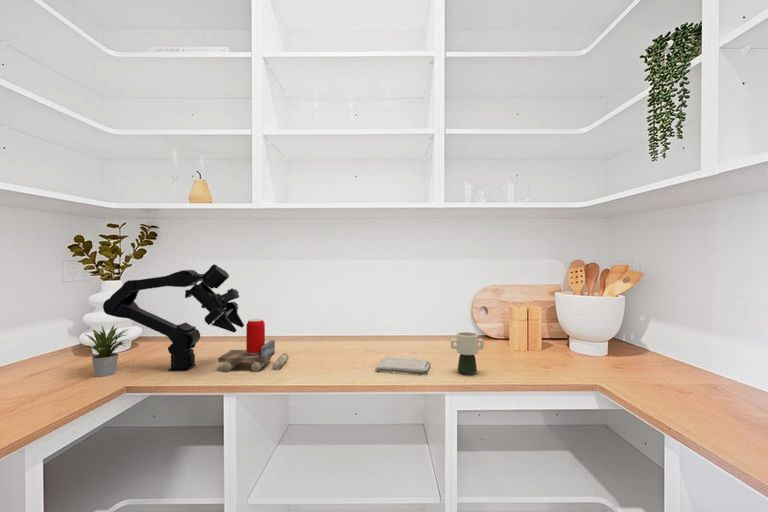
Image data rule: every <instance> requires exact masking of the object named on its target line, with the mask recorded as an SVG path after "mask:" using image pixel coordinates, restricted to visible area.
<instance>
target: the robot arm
mask: <svg viewBox="0 0 768 512" xmlns="http://www.w3.org/2000/svg"><path fill="white" fill-rule="evenodd" d="M229 278H230V275H229V273H228V272H227V271H226V270H225V269H223V268H221V267H220V266H218V265H217V264H212V265H211V266H210V268H209V269H208V270H207V271H206V272H204V273H198V272H197V271H196V270H193V269H185V270H183V269H182V270H178V271H176V272H174V273H173V272H172V273H170V274H167V275H163V276H158V277H157V276H156V277H149V278H142V279H141V278H140V279H130V280H126V281H125V282H124V283H123V284H122V285H121V286H120V288H119V289H117V290H116V291H114V293H112V294H111V296H110V297H109V298H107V299H106V300H105V301H104V302H103V303H102V304H103V305H102V310H103V312H104V313H105V314H106V315H108V316H112V317H115V318H122V319H128V320H131V321H133V322H136V323H138V324H141V325H142V326H144V327H146V328H148V329H151V330H153V331H155V332H157V333H159V334H162V335H164V336H166V337H167V338H168V339H169V340H170V342H171V344H170V345H169V346H167V351H168V353H169V354H170V368H168V370H167V371H171V372H172V371H175V372H176V370H177V372H178V371H179V370H180V371H181V370H182V371H183V372H184V371H185V370H186V371H189V370H190V369H192V368H194V367H196V358H195V357H196V354H195V353H194V351H195V350H194V349H195V347H196V344H197V343H198V342H199V341H200V340H201V332H200V331H199V329H197V326H193V325H191V324H190V323H187V322H183V323H180V324H175V323H173V322H171V321H169V320H167V319H165V318H163V317H160V316H158V315H156V314H154V313H151V312H149V311H147V310H145V309H143V308H141V307H139V305H138V304H137V303H136V302H135V300H136V299H137V297H138V294H139V292H140V291H143V290H149V289H157V288H163V287H174V288H187V287H191V288H190V289H185V294H184V298H185V299H188V298H191V297H193V298H194V299H195V300H197V302H198V303H200V305H201V308H202V309H205V310H207V311H208V312H209V313H208V314H207V315H205V316H204V322H205V323H206V324H207V325H208V326H210V325H211V326H213V327H217V328H220V329H223V330H226V331H228V332H231V333H236V332H238V330H237V328H236V327H235V326H237V327H240V328H244V326H245V323H243V321H242V319H241V317H240V315H239V313H238V310H239V304H238V303H237V302H236V301H234V300H235V299H239V298H240V295H239V291H238V290H237V289H234V288H230V289H227V292H225V293H223V294H220V293H216V292H214V290H213V289H219V287H221V286H222V285H223V284H224V283H225V282H226V281H227V280H228V279H229ZM198 282H199V284H198ZM234 325H235V326H234Z"/></svg>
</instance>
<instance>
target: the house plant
mask: <svg viewBox="0 0 768 512" xmlns="http://www.w3.org/2000/svg"><path fill="white" fill-rule="evenodd" d="M117 329H118V327H116V328H115V324H113V325H112V327H111V328H110V330H109V331H108V333H106V330H105V328H104V326H103V325H101V331H98V330H97V331H96V329H92V332H93V336H94V337H92V336H91V335H88V334H86V333H84V335H85V336H86V337H88V338H89V339H90V340H91V341H92V342H93V343H94V344H95V345H93V346H91V345H83V346H81V347H80V348H90V349H93V350H95V351H96V352H97V354H95V355H92V356H91V360H92V365H93V371H94V375H95V377H97V378H99V377H101V378H102V377H109V376H112V375H114V374H115V373H116V371H117V370H116V368H117V364H118V359H119V353H118V352H114V351H115V350H116V349H118V348H119V347H120V346H123V347H125V348H127V346H126V343H124V342H123V341H126V340H127V341H128V339H123V340H121V341H117V340H118V339H119V338H121V337H125V336H128V335H129V333H128V332H129V331H128V330H129V328H128V329H127V328H126V329H124V330H121V331H119V332H117ZM116 332H117V333H116ZM126 332H127V334H126ZM94 338H95V339H94Z"/></svg>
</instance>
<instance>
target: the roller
mask: <svg viewBox="0 0 768 512" xmlns="http://www.w3.org/2000/svg"><path fill="white" fill-rule="evenodd" d="M289 357H290V356H289V355H288V354H287V353H282V354H281V355H279V356H278V358H277V359H276V360H274V362H273V363H272V367H273V368H274V369H275V370H280V369H281V368H282V367H283V366H284V365H285V364H286V363H287V362H288V360H289Z"/></svg>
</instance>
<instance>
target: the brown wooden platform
mask: <svg viewBox="0 0 768 512" xmlns="http://www.w3.org/2000/svg"><path fill="white" fill-rule="evenodd" d="M275 342H276V340H273V339H270V340H269V341H267V343H266V342H265V345H264V346H262V347H261V354H258V355H250V354H249V353H247V351H246V349H230V350H229V351H227V352H225V353H224V354H222V355H220V356H219V357H218V358H217V359H218V360H217V361H218V362H217V363H222V365H221V367H220V368H221V370H222V371H223V373H228V372H230V371H231V370H232V369H234V368H235V367H236V366H238V365H239V364H241V363H252V364H251V367H250V368H251V371H253V372H254V373H256V372H257V373H258V372H259V371H260V370H261V369H262V368H263V367H264V366H266V364H267V363H269V362H270V361H271V360H272V357H273V356H274V355H275V354H276V353H275V352H276V351H275V349H276V348H275V347H276V343H275Z"/></svg>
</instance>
